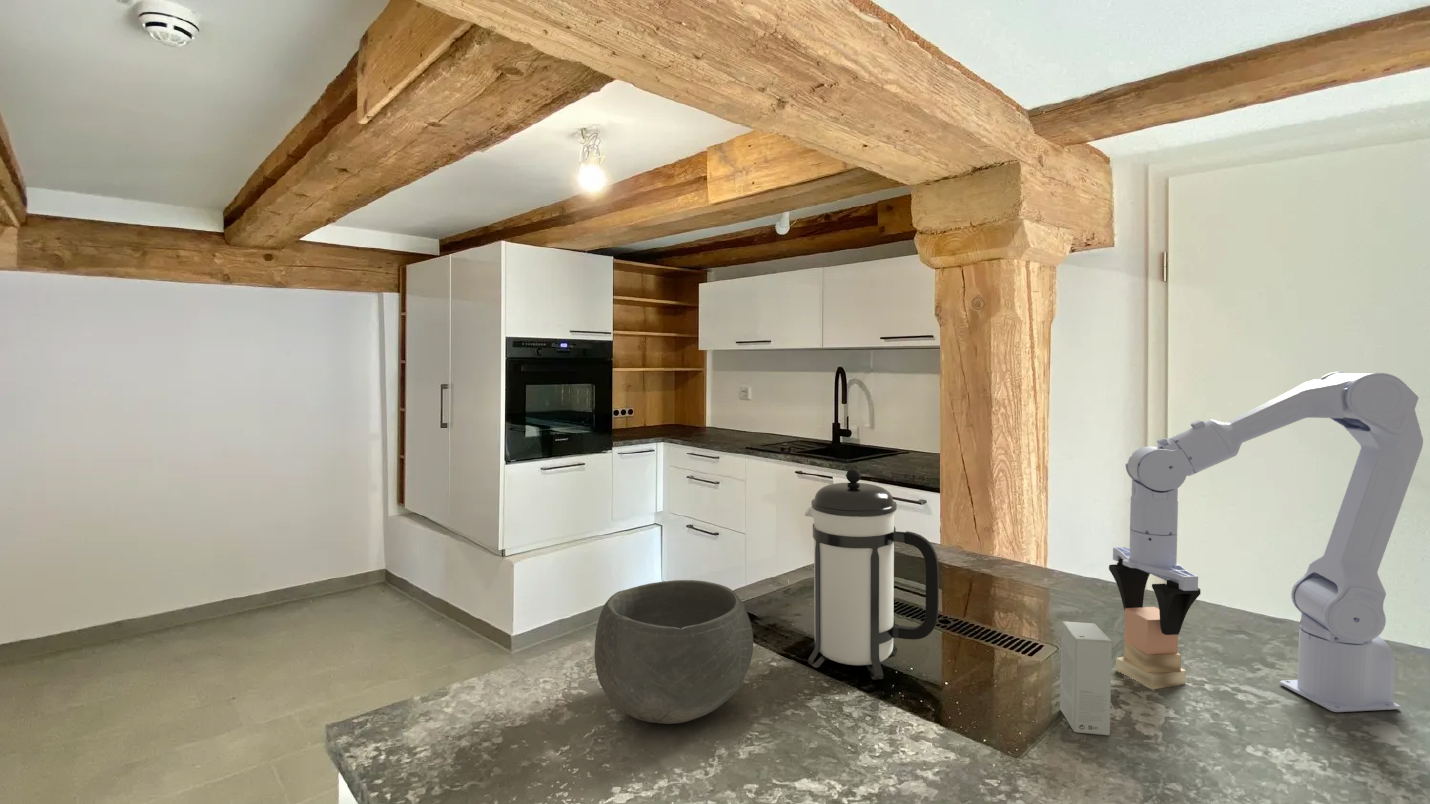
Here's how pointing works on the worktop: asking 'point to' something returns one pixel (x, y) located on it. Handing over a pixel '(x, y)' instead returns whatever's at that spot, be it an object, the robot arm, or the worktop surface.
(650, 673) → the bowl
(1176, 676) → the tower base
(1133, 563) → the robot arm
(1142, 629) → the cube
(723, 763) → the worktop surface
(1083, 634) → the skincare box
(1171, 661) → the tower mid
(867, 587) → the coffee press
